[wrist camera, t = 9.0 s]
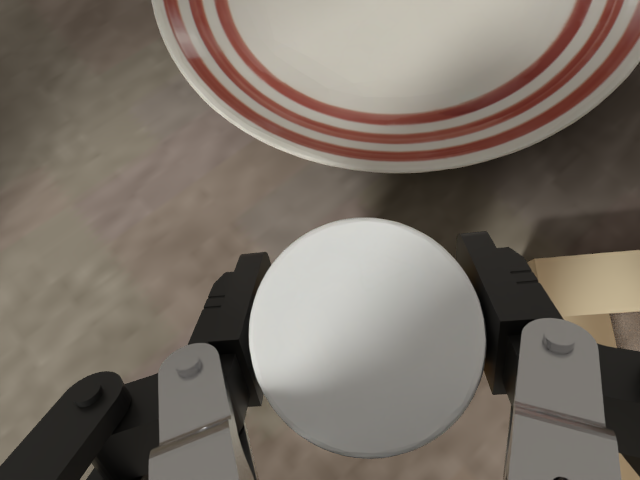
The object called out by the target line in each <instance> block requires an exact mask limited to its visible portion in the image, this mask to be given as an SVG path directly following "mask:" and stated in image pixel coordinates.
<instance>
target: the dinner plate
mask: <svg viewBox="0 0 640 480" xmlns="http://www.w3.org/2000/svg"><path fill="white" fill-rule="evenodd" d="M151 2H152V6H153V11H154V15H155V19H156V22H157V25H158V28H159V31H160V34H161V36H162V38H163V41H164V43H165V45H166V47H167V49H168V51H169V53H170V55H171V57H172V59H173V60H174V62H175V64H176V65H177V67H178V69H179V70H180V72H181V73H182V75H183V76H184V77H185V78H186V80H187V81H188V82H189V84H190V85H191V86H192V88H193V89H194V90H195V91H196V92H197V93H198V94H199V95H200V97H201V98H202V99H203V100H204V101H205V102H206V103H207V104H208V105H209V106H211V107H212V108H213V109H214V110H215V111H216V112H218V113H219V114H220V115H221V116H223V117H224V118H225V119H226V120H228V121H229V122H231V123H232V124H234V125H235V126H236V127H238V128H239V129H241V130H243V131H244V132H246V133H248V134H249V135H251V136H253V137H254V138H256V139H258V140H260V141H262V142H264V143H266V144H268V145H270V146H272V147H274V148H276V149H279V150H282V151H284V152H287V153H289V154H292V155H295V156H297V157H300V158H303V159H306V160H310V161H313V162H317V163H321V164H324V165H328V166H333V167H339V168H344V169H350V170H356V171H366V172H376V173H422V172H430V171H439V170H445V169H454V168H460V167H465V166H469V165H473V164H478V163H481V162H485V161H489V160H492V159H496V158H499V157H502V156H505V155H508V154H511V153H514V152H517V151H519V150H522V149H524V148H527V147H529V146H531V145H534V144H536V143H538V142H540V141H542V140H544V139H546V138H548V137H550V136H552V135H554V134H555V133H557V132H559V131H561V130H562V129H564V128H566V127H568V126H569V125H571V124H573V123H574V122H576V121H577V120H579V119H580V118H581V117H583V116H584V115H586V114H587V113H589V112H590V111H591V110H592V109H594V108H595V107H596V106H597V105H599V104H600V103H601V102H602V101H603V100H604V99H606V98H607V97H608V96H609V95H610V94H611V93H612V92H613V91H614V90H615V89H616V88H617V87H618V86H619V85H620V84H621V83H622V82H623V81H624V80H625V79H626V78H627V77H628V76H629V75H630V74H631V72H632V71H633V70H634V69H635V67H636V66H637V65H638V63H639V62H640V0H151Z"/></svg>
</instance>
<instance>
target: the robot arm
mask: <svg viewBox="0 0 640 480" xmlns="http://www.w3.org/2000/svg"><path fill="white" fill-rule="evenodd" d="M456 261H457V262H458V263H459V265H460V266H461V268H462V269H463V270H464V272H465V273H466V275H467V276H468V278H469V280H470V282H471V284H472V285H473V287H474V290H475V292H476V294H477V296H478V299H479V301H480V304H481V307H482V311H483V315H484V319H485V324H486V334H487V349H486V359H485V366H484V372H485V375H486V378H487V380H488V383H489V386H490V389H491V392H492V394H493V395H497V394H507V395H508V398H509V400H510V403H511V411H510V419H509V428H508V437H507V447H506V456H505V465H504V474H503V480H622V479H621V471H620V462H619V453H621V454H622V456H623V457H624V458H625V460H626V461H627V462H628V463H629V464H630V466H631V467H632V468H633V469H634V471H635V472H636V473H637V474H638V476H639V477H640V352H639V351H633V350H627V349H620V348H614V347H609V346H605V345H601V344H598V343H596V341H595V339H594V338H593V337H592V335H591V334H590V333H589V332H587V331H586V330H585V329H583V328H582V327H580V326H578V325H576V324H574V323H572V322H569V321H566V320H564V319H563V317H562V316H561V314H560V313H559V311H558V310H557V308H556V307H555V305H554V304H553V302H552V300H551V299H550V297H549V296H548V294H547V293H546V291H545V290H544V288H543V287H542V285H541V283H539V282H538V279H537V277H536V276H535V274H534V273H533V272H532V270H531V268H530V266H529V265H528V263H527V262H526V260H525V259H524V257H522V256H521V255H519V254H518V253H516V252H515V251H514V250H512V249H511V248H509V247H505V248H496V246H495V244H494V243H493V241H492V239H491V237H490V236H489V234H488V232H486V231H484V232H473V233H463V234H458V236H457V250H456ZM270 266H271V263H270V259H269V256H268V254H267V253H266V252H261V253H250V254H242V255H240V257H239V260H238V262H237V265H236V268H235V270H234V272H226V273H224V274H223V275H222V276H221V277H220V278H219V279H218V280H217V281H216V282H215V283H214V284H213V287H212V289H211V291H210V294H209V296H208V299H207V301H206V303H205V305H204V310H202V312H201V315H200V317H199V319H198V322H197V324H196V327H195V329H194V331H193V334H192V336H191V338H190V341H189V343H188V345H186V346H184V347H182V348H180V349H178V350H176V351H175V352H173V353H172V354H171V355H169V356H168V357H167V358H166V359H165V361H164V362H163V363H162V365H161V367H160V369H159V372H158V373H157V374H154V375H152V376H149V377H146V378H143V379H139V380H136V381H133V382H130V383H127V384H124V383H123V381H122V379H121V378H120V376H119V375H118V374H116V373H114V372H107V371H105V372H99V373H95V374H92V375H89V376H87V377H85V378H83V379H81V380H80V381H78V382H77V383H75V384H74V385H73V386H72V387H70V388H69V389H68V390H67V391H66V392H65V393H64V394H63V396H62V397H61V398H60V399H59V400H58V401H57V402H56V403H55V405H54V406H53V407H52V408H51V409H50V410H49V411H48V413H47V414H46V415H45V416H44V417H43V418H42V419H41V421H40V422H39V423H38V424H37V425H36V426H35V427H34V428H33V430H32V431H31V432H30V433H29V434H28V435H27V436H26V438H25V439H24V440H23V441H22V442H21V443H20V444H19V446H18V447H17V448H16V449H15V450H14V451H13V452H12V453H11V455H10V456H9V457H8V458H7V459H6V460H5V461H4V463H3V464H2V465H1V466H0V480H80V478H81V477H82V475H83V474H84V473H85V471H86V470H87V468H88V467H89V466H90V464H91V463H92V464H93V466H94V467H95V468H94V469H93V471H92V472H91V474H90V475H89V476H88V478H87V479H86V480H259V479H258V474H257V470H256V466H255V462H254V457H253V453H252V449H251V444H250V440H249V436H248V431H247V427H246V425H245V422H244V420H245V415H246V411H247V407H252V406H261V404H262V399H263V391H262V389H261V387H260V385H259V383H258V381H257V378H256V375H255V372H254V368H253V364H252V359H251V354H250V349H249V321H250V315H251V310H252V306H253V302H254V299H255V296H256V293H257V290H258V288H259V286H260V284H261V281H262V280H263V278H264V276H265V274H266V273H267V271H268V269H269V268H270Z"/></svg>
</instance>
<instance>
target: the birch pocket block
mask: <svg viewBox="0 0 640 480" xmlns="http://www.w3.org/2000/svg"><path fill="white" fill-rule="evenodd" d="M527 263H528V265H529V266H530V268H531V270H532V272H533V273H534V274H535V276H536V277H537V279H538V282H539V283H541V285H542V287H543V288H544V290H545V291H546V293H547V294H548V296H549V297H550V299H551V300H552V302H553V304H554V305H555V307H556V308H557V310H558V311H559V313H560V314H561V316H562V317H563V319H564V320H566V321H569V322H572V323H574V324H576V325H578V326H580V327H582V328H583V329H585V330H586V331H587V332H589V333H590V334H591V335H592V337H593V338H594V339H595V341H596V343H598V344H601V345H605V346H609V347H614V348H617V346H616V341H615V337H614V332H613V328H612V323H611V319H610V314H613V313H627V312H640V250H632V251H620V252H609V253H597V254H585V255H573V256H561V257H550V258H538V259H533V260H531V261H529V262H527ZM619 462H620V471H621V479H622V480H640V477H639V476H638V474H637V473H636V472H635V471H634V469H633V468H632V467H631V466H630V464H629V463H628V462H627V461H626V460H625V458H624V457H623V456H622V454H621V453H619Z"/></svg>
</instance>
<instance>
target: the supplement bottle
mask: <svg viewBox="0 0 640 480" xmlns="http://www.w3.org/2000/svg"><path fill="white" fill-rule="evenodd" d="M249 349H250V354H251V359H252V364H253V368H254V372H255V375H256V378H257V381H258V383H259V385H260V387H261V389H262V391H263V394H264V395H265V397H266V399H267V400H268V402H269V403H270V405H271V406H272V408H273V409H274V411H275V412H276V413H277V414H278V415H279V417H280V418H281V419H282V420H283V421H284V422H285V423H286V424H287V425H288V426H289V427H290V428H291V429H293V430H294V431H295V432H296V433H297V434H299V435H300V436H302V437H303V438H305V439H306V440H308V441H309V442H311V443H313V444H314V445H316V446H318V447H320V448H322V449H325V450H327V451H330V452H333V453H336V454H340V455H343V456H348V457H354V458H367V459H373V458H386V457H392V456H396V455H400V454H403V453H407V452H410V451H413V450H416V449H418V448H420V447H422V446H424V445H426V444H428V443H430V442H432V441H433V440H435V439H436V438H438V437H439V436H440V435H442V434H443V433H444V432H446V431H447V430H448V429H449V428H450V427H451V426H452V425H453V424H454V423H455V422H456V421H457V420H458V419H459V418H460V417H461V415H462V414H463V413H464V411H465V410H466V408H467V407H468V405H469V404H470V402H471V400H472V399H473V397H474V395H475V392H476V390H477V388H478V386H479V383H480V380H481V377H482V374H483V370H484V366H485V359H486V349H487V334H486V324H485V319H484V315H483V311H482V307H481V304H480V301H479V299H478V296H477V294H476V292H475V290H474V287H473V285H472V284H471V282H470V280H469V278H468V276H467V275H466V273H465V272H464V270H463V269H462V268H461V266H460V265H459V263H458V262H457V261H456V260H455V259H454V258H453V257H452V256H451V255H450V254H449V253H448V251H447V250H446V249H444V248H443V247H442V246H441V245H440V244H438V243H437V242H436V241H435V240H433V239H432V238H430V237H429V236H427V235H426V234H424V233H422V232H420V231H418V230H416V229H414V228H412V227H410V226H407V225H404V224H402V223H399V222H395V221H391V220H386V219H379V218H349V219H343V220H338V221H334V222H331V223H328V224H325V225H323V226H320V227H318V228H315V229H313V230H311V231H309V232H308V233H306V234H304V235H303V236H301V237H300V238H298V239H297V240H296V241H294V242H293V243H292V244H290V245H289V246H288V247H287V248H286V249H285V250H284V251H283V252H282V253H281V254H280V255H279V256H278V257H277V259H276V260H275V261H274V262H273V264H272V265H271V266H270V268H269V269H268V271H267V273H266V274H265V276H264V278H263V280H262V281H261V284H260V286H259V288H258V290H257V293H256V296H255V299H254V302H253V306H252V310H251V315H250V321H249Z"/></svg>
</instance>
